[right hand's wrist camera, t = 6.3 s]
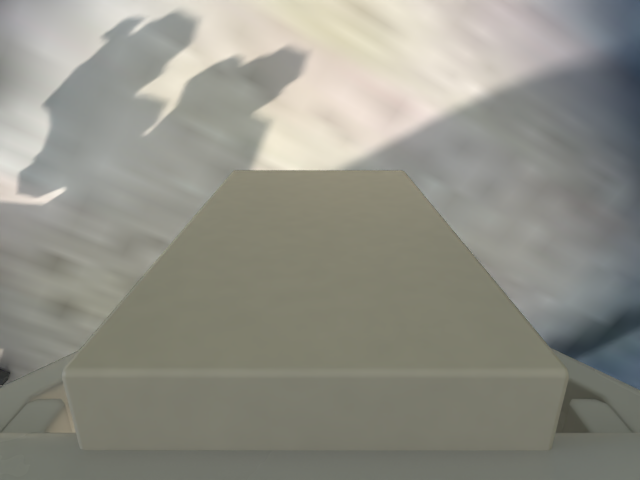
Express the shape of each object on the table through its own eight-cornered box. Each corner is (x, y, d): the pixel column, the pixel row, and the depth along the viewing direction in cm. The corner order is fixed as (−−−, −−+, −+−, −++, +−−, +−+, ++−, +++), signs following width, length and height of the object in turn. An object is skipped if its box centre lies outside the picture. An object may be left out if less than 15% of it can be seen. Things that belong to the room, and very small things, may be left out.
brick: (244, 327, 15) (137, 686, 6) (232, 169, 13) (55, 371, 4) (393, 327, 15) (495, 686, 6) (404, 169, 13) (574, 371, 4)
